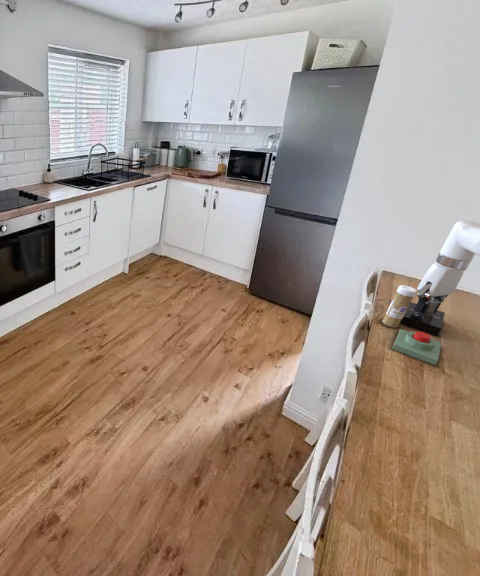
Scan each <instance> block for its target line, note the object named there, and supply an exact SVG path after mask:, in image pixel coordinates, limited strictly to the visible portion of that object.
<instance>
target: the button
mask: <svg viewBox="0 0 480 576" xmlns="http://www.w3.org/2000/svg"><path fill="white" fill-rule="evenodd" d="M414 332H415V334H414V336H413V338H414V339H416V340H417V341H420V342H423V343H428V342H429V340H430V339H432V335H431V334H429V333H426V332H423V331H420V330H417V331H414Z"/></svg>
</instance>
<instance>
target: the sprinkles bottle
mask: <svg viewBox="0 0 480 576" xmlns="http://www.w3.org/2000/svg"><path fill="white" fill-rule="evenodd" d="M417 293H418V290H417V288H414V287H412V286H409V285H405V284H404V285H403V284H401V285H399V286H398V288H397V290H396V293H395V295H394V297H393V299H392V301H391V302H390V304H389V307H388V308H387V310H386V313H385V315H384V317H383V319H382V321H381V323H382V324H383V325H385V326H387V327H390V328H398V327H400V324H399V323H400V322H401V320H402V318H403V316H404V314H405V313H406V311H407V308H408V306H409V304H410V302H412V300H413V298H414V297H415V296H416V295H417Z"/></svg>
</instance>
